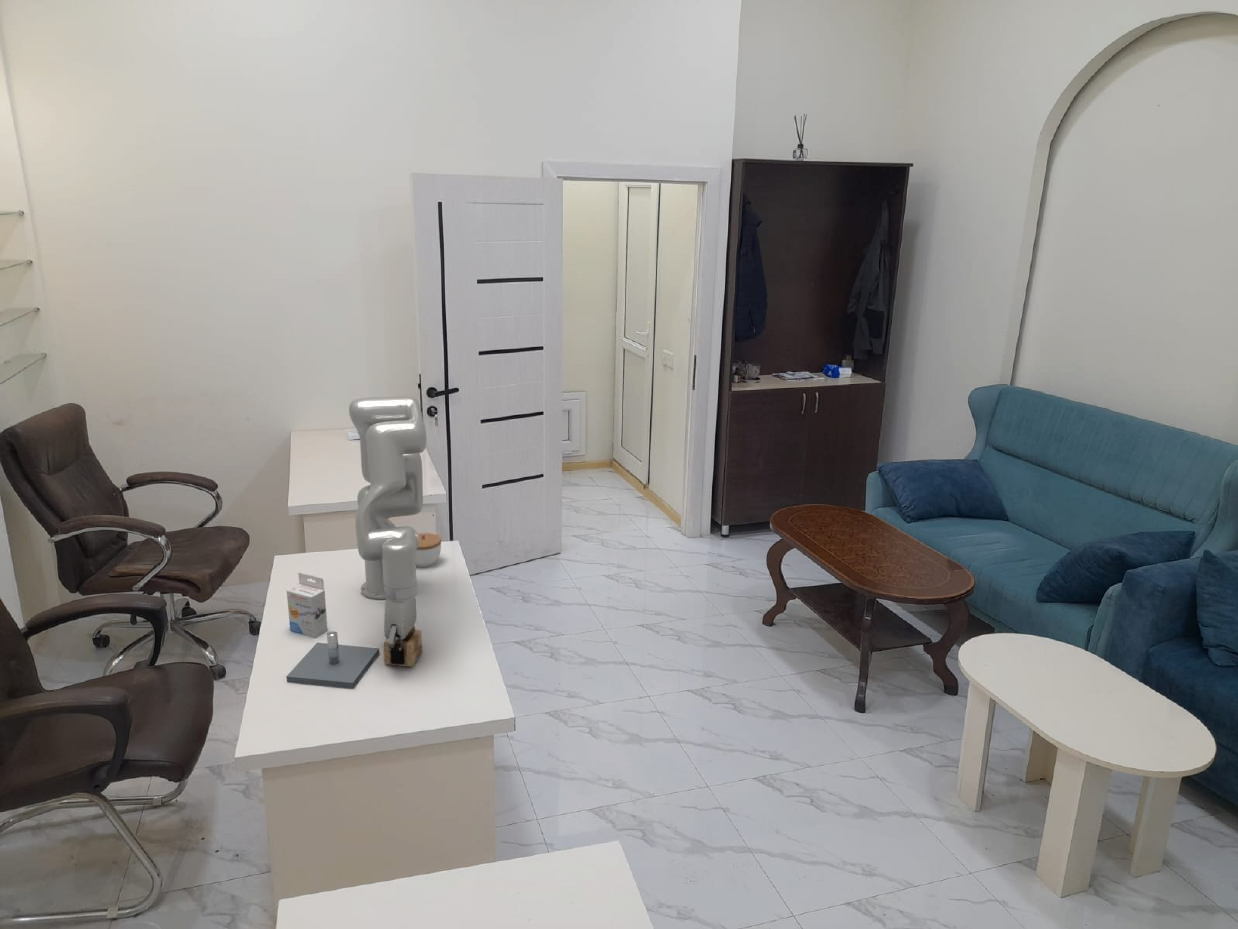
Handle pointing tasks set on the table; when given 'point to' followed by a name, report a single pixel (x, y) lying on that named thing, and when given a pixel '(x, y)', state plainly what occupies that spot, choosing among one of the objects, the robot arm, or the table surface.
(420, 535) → the lidded jar
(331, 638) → the metal post
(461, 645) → the table surface
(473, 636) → the table surface
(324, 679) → the slate board
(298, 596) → the ink box
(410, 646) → the oak frame
